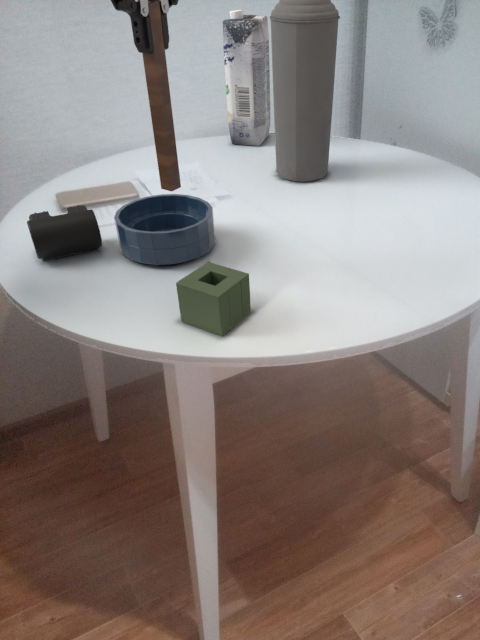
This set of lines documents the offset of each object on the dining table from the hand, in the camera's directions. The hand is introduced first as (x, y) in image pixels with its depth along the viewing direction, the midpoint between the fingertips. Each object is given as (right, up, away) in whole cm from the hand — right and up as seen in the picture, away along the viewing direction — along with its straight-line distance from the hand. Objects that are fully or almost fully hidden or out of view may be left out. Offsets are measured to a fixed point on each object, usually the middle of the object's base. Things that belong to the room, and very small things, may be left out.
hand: (153, 50), depth 68 cm
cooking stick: (0, -13, +11) cm, 17 cm away
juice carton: (+8, +18, +69) cm, 72 cm away
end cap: (-19, -20, +23) cm, 36 cm away
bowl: (-3, -18, +25) cm, 31 cm away
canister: (+20, +3, +51) cm, 55 cm away
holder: (+7, -32, +8) cm, 33 cm away
